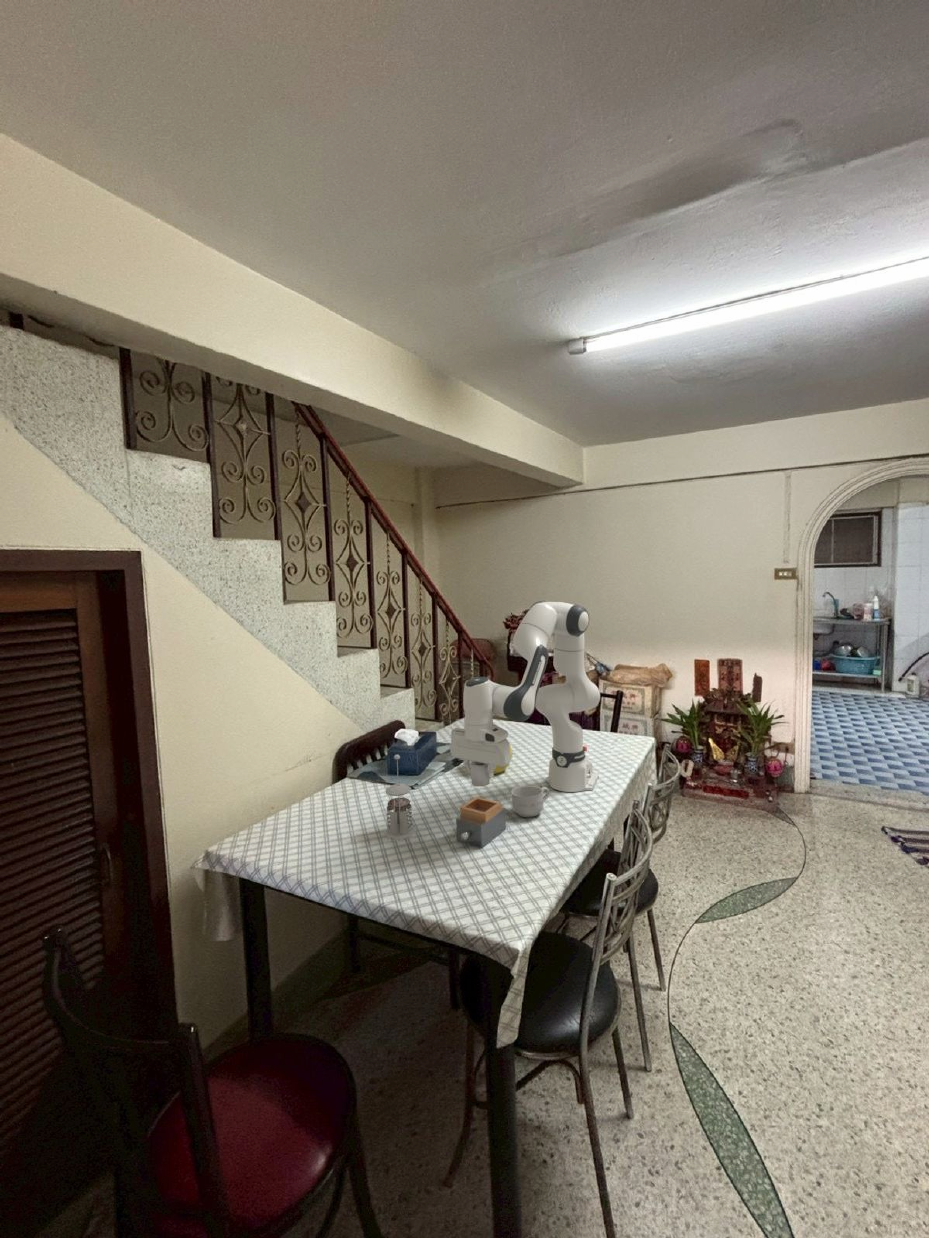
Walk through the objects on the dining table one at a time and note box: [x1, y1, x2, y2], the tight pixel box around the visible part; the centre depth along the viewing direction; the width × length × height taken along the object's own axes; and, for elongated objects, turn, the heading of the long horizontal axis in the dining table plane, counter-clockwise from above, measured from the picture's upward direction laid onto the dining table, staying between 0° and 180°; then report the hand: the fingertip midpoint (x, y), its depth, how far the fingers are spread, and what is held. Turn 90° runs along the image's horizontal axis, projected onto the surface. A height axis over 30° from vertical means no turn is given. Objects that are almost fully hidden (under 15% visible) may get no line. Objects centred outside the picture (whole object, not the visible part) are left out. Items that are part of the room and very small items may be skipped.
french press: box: [384, 754, 416, 840], centre depth 169 cm, size 10×12×25 cm
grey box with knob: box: [455, 796, 507, 849], centre depth 166 cm, size 17×9×10 cm, turn 146°
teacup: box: [510, 785, 550, 818], centre depth 182 cm, size 14×11×8 cm
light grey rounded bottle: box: [470, 762, 491, 787], centre depth 165 cm, size 6×6×8 cm
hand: (480, 775), depth 166 cm, fingers closed on light grey rounded bottle, 5 cm apart
